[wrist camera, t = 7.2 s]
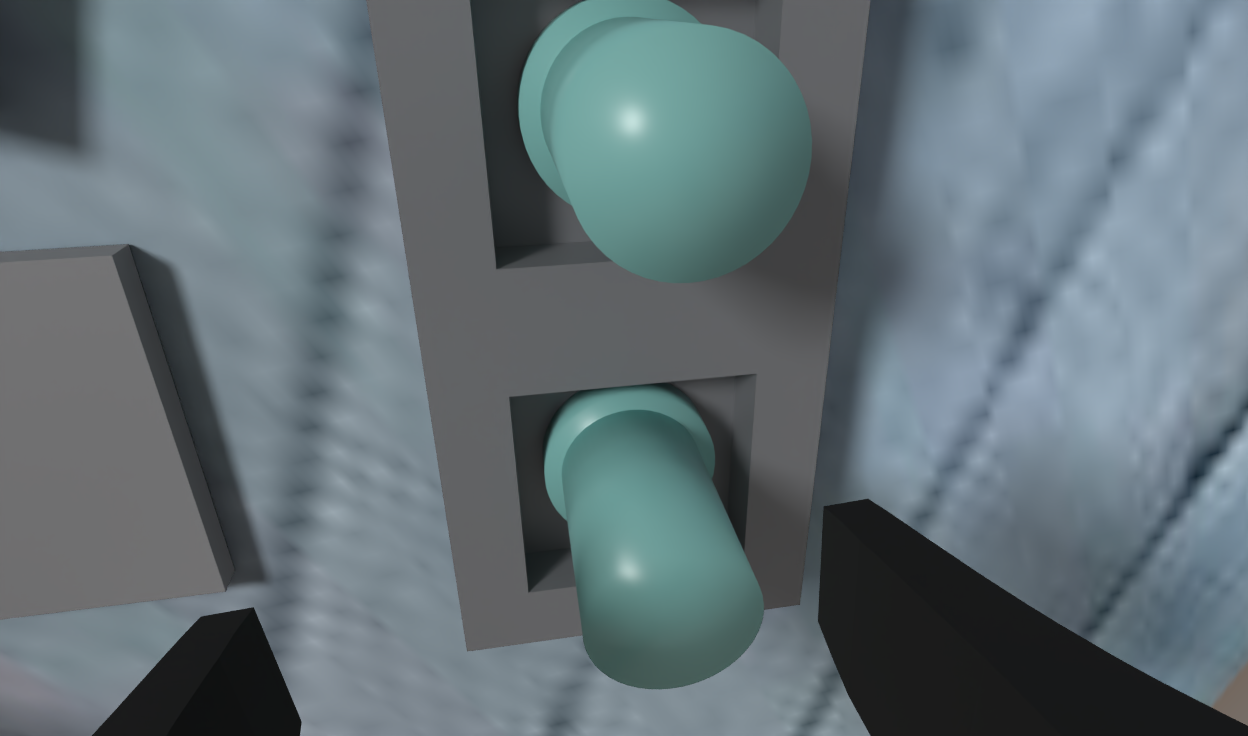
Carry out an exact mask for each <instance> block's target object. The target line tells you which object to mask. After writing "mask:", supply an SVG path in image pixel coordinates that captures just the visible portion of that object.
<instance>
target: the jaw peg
mask: <svg viewBox="0 0 1248 736" xmlns="http://www.w3.org/2000/svg"><path fill="white" fill-rule="evenodd" d="M543 464H544V475H545V483H546V489H547V492H548V495H549V498H550V500H551V502H552V504H553V505H554V507H555V508H556V510H557V511H558V513H559V514H560V515H561V516H562V517H563V518H564V519H565V520H566V521H567V522H568V530H569V537H570V545H571V552H572V560H573V567H574V575H575V582H576V589H577V597H578V604H579V612H580V619H581V627H582V634H583V642H584V645H585V649H586V651H587V653H588V655H589V657H590V659H591V660H592V662H593V663H594V664H595V666H596V667H597V668H598V669H599V670H601V671H602V672H603V673H604V674H606V675H607V676H609V677H610V678H612V679H614V680H616V681H618V682H620V683H623V684H626V685H629V686H633V687H637V688H645V689H670V688H677V687H683V686H686V685H690V684H694V683H697V682H699V681H702V680H705V679H707V678H709V677H711V676H713V675H715V674H717V673H719V672H720V671H722V670H724V669H725V668H727V667H728V666H729V665H731V664H732V663H733V662H735V661H736V660H737V659H738V658H739V657H740V656H741V655H742V654H743V653H744V652H745V651H746V650H747V649H748V647H749V646H750V645H751V643H752V642H753V640H754V639H755V637H756V635H757V633H758V631H759V629H760V626H761V623H762V619H763V614H764V602H763V595H762V592H761V589H760V586H759V584H758V582H757V580H756V577H755V575H754V573H753V571H752V569H751V566H750V564H749V562H748V560H747V557H746V555H745V553H744V551H743V548H742V546H741V544H740V542H739V539H738V537H737V535H736V533H735V530H734V528H733V526H732V524H731V521H730V519H729V517H728V515H727V513H726V510H725V508H724V506H723V504H722V501H721V499H720V497H719V495H718V492H717V490H716V488H715V486H714V483H713V481H712V477H713V474H714V467H715V451H714V445H713V442H712V439H711V436H710V434H709V432H708V430H707V428H706V426H705V424H704V422H703V420H702V418H701V416H700V414H699V412H698V410H697V408H696V407H695V405H694V404H693V402H692V401H691V400H690V399H689V398H688V397H687V396H686V395H685V394H684V393H683V392H682V391H680V390H679V389H678V388H676V387H674V386H673V385H671V384H669V383H667V382H662V383H652V384H641V385H630V386H620V387H609V388H599V389H588V390H580V391H578V392H577V393H575V394H574V395H572V396H571V397H570V398H569V399H568V400H567V401H565V402H564V404H563V405H562V406H561V407H560V408H559V409H558V410H557V412H556V413H555V415H554V416H553V418H552V419H551V421H550V423H549V425H548V428H547V430H546V433H545V436H544V442H543Z"/></svg>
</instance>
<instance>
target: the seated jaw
mask: <svg viewBox="0 0 1248 736" xmlns="http://www.w3.org/2000/svg"><path fill="white" fill-rule="evenodd" d="M517 112H518V119H519V126H520V130H521V133H522V137H523V141H524V144H525V148H526V150H527V152H528V155H529V157H530V160H531V162H532V164H533V165H534V167H535V169H536V171H537V172H538V174H539V175H540V176H541V178H542V179H543V180H544V182H545V183H546V184H547V185H548V186H549V187H550V188H551V189H552V190H553V191H554V193H555V194H557V195H558V196H559V197H560V198H562V199H563V200H564V201H565V202H567V203H568V204H570V205H572V206H573V209H574V211H575V213H576V216H577V218H578V220H579V222H580V224H581V225H582V227H583V229H584V231H585V232H586V234H587V235H588V236H589V238H590V239H591V240H592V242H593V243H594V244H595V245H596V246H597V247H598V248H599V249H600V250H601V251H602V252H603V253H604V254H605V255H606V256H607V257H608V258H609V259H611V260H612V261H613V262H615V263H616V264H617V265H619V266H621V267H622V268H624V269H626V270H628V271H629V272H631V273H634V274H636V275H639V276H641V277H644V278H647V279H651V280H655V281H659V282H668V283H693V282H700V281H706V280H709V279H713V278H717V277H720V276H722V275H725V274H727V273H730V272H732V271H734V270H736V269H738V268H740V267H741V266H743V265H745V264H747V263H748V262H750V261H751V260H752V259H754V258H755V257H757V256H758V255H759V254H760V253H762V252H763V251H764V250H765V249H766V248H767V247H768V246H769V245H770V244H771V243H772V242H773V241H774V240H775V239H776V238H777V237H778V236H779V234H780V233H781V232H782V231H783V229H784V228H785V226H786V225H787V224H788V222H789V221H790V219H791V218H792V216H793V214H794V212H795V210H796V208H797V207H798V205H799V202H800V200H801V197H802V195H803V192H804V190H805V187H806V183H807V179H808V176H809V171H810V164H811V158H812V134H811V124H810V119H809V115H808V110H807V107H806V104H805V101H804V98H803V96H802V93H801V91H800V89H799V87H798V85H797V83H796V81H795V80H794V78H793V76H792V75H791V74H790V72H789V71H788V69H787V68H786V67H785V65H784V64H783V63H782V62H781V61H780V60H779V59H778V58H777V57H776V56H775V55H774V54H773V53H772V52H771V51H770V50H768V49H767V48H766V47H764V46H763V45H762V44H760V43H759V42H757V41H756V40H754V39H752V38H750V37H748V36H746V35H745V34H742V33H739V32H736V31H734V30H731V29H728V28H723V27H718V26H713V25H705V24H701V23H700V22H699V21H698V20H697V19H696V18H695V17H694V16H692V15H691V14H690V13H688V12H687V11H686V10H684V9H683V8H681V7H679V6H678V5H676V4H674V3H672V2H670V1H668V0H582V1H580V2H578V3H576V4H574V5H572V6H570V7H569V8H567V9H565V10H564V11H563V12H561V13H560V14H559V15H558V16H556V17H555V18H554V19H553V20H552V21H551V22H550V23H549V24H548V25H547V26H546V27H545V28H544V29H543V30H542V32H541V33H540V34H539V36H538V37H537V39H536V40H535V41H534V43H533V45H532V47H531V49H530V50H529V52H528V54H527V57H526V59H525V62H524V65H523V67H522V71H521V75H520V79H519V84H518V93H517Z"/></svg>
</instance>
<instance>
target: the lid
mask: <svg viewBox="0 0 1248 736" xmlns="http://www.w3.org/2000/svg"><path fill="white" fill-rule="evenodd" d="M234 571H235V569H234V566H233V563H232V560H231V557H230V554H229V551H228V548H227V545H226V542H225V538H224V535H223V532H222V529H221V526H220V523H219V520H218V517H217V514H216V511H215V508H214V505H213V502H212V499H211V496H210V492H209V489H208V486H207V483H206V480H205V477H204V474H203V471H202V468H201V465H200V462H199V459H198V456H197V453H196V450H195V446H194V443H193V440H192V437H191V434H190V431H189V428H188V425H187V422H186V419H185V416H184V413H183V410H182V407H181V404H180V400H179V397H178V394H177V391H176V388H175V385H174V382H173V379H172V376H171V373H170V370H169V367H168V364H167V361H166V357H165V354H164V351H163V348H162V345H161V342H160V339H159V336H158V333H157V330H156V327H155V324H154V321H153V318H152V315H151V311H150V308H149V305H148V302H147V299H146V296H145V293H144V290H143V287H142V284H141V281H140V278H139V275H138V272H137V269H136V265H135V262H134V259H133V256H132V253H131V250H130V247H129V244H123V245H106V246H90V247H74V248H57V249H41V250H25V251H8V252H0V619H8V618H16V617H24V616H32V615H40V614H49V613H57V612H65V611H73V610H81V609H89V608H97V607H105V606H113V605H121V604H129V603H137V602H145V601H153V600H161V599H169V598H177V597H186V596H194V595H202V594H210V593H218V592H226V590H227V587H228V585H229V583H230V581H231V578H232V576H233V574H234Z"/></svg>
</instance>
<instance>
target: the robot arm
mask: <svg viewBox="0 0 1248 736" xmlns="http://www.w3.org/2000/svg"><path fill="white" fill-rule="evenodd" d="M818 623H819V625H820V628H821V630H822V633H823V635H824V638H825V640H826V643H827V645H828V648H829V650H830V653H831V655H832V658H833V660H834V663H835V665H836V667H837V670H838V672H839V674H840V677H841V679H842V681H843V684H844V686H845V688H846V691H847V693H848V695H849V697H850V699H851V701H852V703H853V704H854V706H855V708H856V710H857V712H858V714H859V715H860V717H861V719H862V721H863V723H864V725H865V726H866V728H867V730H868V732H869V734H870V735H871V736H1248V726H1247V725H1245V724H1243V723H1241V722H1239V721H1237V720H1235V719H1233V718H1231V717H1229V716H1227V715H1225V714H1223V713H1221V712H1219V711H1217V710H1215V709H1213V708H1211V707H1209V706H1207V705H1205V704H1203V703H1201V702H1199V701H1198V700H1196V699H1194V698H1192V697H1190V696H1188V695H1186V694H1184V693H1182V692H1180V691H1178V690H1176V689H1174V688H1172V687H1170V686H1168V685H1166V684H1164V683H1162V682H1160V681H1158V680H1157V679H1155V678H1153V677H1151V676H1149V675H1147V674H1145V673H1144V672H1142V671H1140V670H1138V669H1136V668H1134V667H1133V666H1131V665H1129V664H1127V663H1125V662H1124V661H1122V660H1120V659H1118V658H1116V657H1115V656H1113V655H1111V654H1110V653H1108V652H1106V651H1104V650H1103V649H1101V648H1099V647H1098V646H1096V645H1094V644H1092V643H1091V642H1089V641H1087V640H1086V639H1084V638H1082V637H1080V636H1079V635H1077V634H1075V633H1074V632H1072V631H1070V630H1068V629H1067V628H1065V627H1063V626H1062V625H1060V624H1058V623H1057V622H1055V621H1053V620H1052V619H1050V618H1048V617H1047V616H1045V615H1044V614H1042V613H1040V612H1039V611H1037V610H1035V609H1034V608H1032V607H1031V606H1029V605H1027V604H1026V603H1024V602H1023V601H1021V600H1019V599H1018V598H1016V597H1015V596H1013V595H1012V594H1010V593H1008V592H1007V591H1005V590H1004V589H1002V588H1001V587H999V586H998V585H996V584H995V583H993V582H991V581H990V580H988V579H987V578H985V577H984V576H982V575H981V574H979V573H978V572H976V571H975V570H973V569H972V568H970V567H969V566H967V565H966V564H964V563H963V562H961V561H960V560H958V559H957V558H955V557H954V556H952V555H951V554H949V553H948V552H946V551H945V550H943V549H942V548H940V547H939V546H938V545H936V544H935V543H933V542H932V541H930V540H929V539H927V538H926V537H924V536H923V535H921V534H920V533H918V532H917V531H916V530H914V529H913V528H911V527H910V526H908V525H907V524H905V523H904V522H902V521H901V520H899V519H898V518H896V517H895V516H893V515H892V514H891V513H889V512H888V511H886V510H885V509H883V508H882V507H880V506H878V505H877V504H875V503H874V502H872V501H871V500H869V499H864V500H858V501H852V502H847V503H841V504H835V505H830V506H824V511H823V531H822V551H821V571H820V591H819V611H818ZM300 730H301V719H300V717H299V714H298V712H297V710H296V707H295V705H294V703H293V700H292V698H291V695H290V693H289V691H288V688H287V686H286V683H285V681H284V679H283V676H282V674H281V672H280V669H279V667H278V664H277V662H276V660H275V657H274V655H273V652H272V650H271V648H270V645H269V643H268V640H267V638H266V636H265V633H264V631H263V629H262V626H261V624H260V621H259V619H258V617H257V614H256V612H255V609H254V607H253V608H247V609H241V610H236V611H230V612H225V613H219V614H213V615H208V616H202V617H200V618H199V619H198V620H197V621H196V622H195V623H194V624H193V626H192V627H191V628H190V629H189V630H188V631H187V632H186V633H185V634H184V635H183V636H182V637H181V638H180V639H179V640H178V641H177V642H176V644H175V645H174V646H173V647H172V648H171V649H170V650H169V651H168V652H167V653H166V655H165V656H164V657H163V658H162V659H161V660H160V661H159V662H158V663H157V664H156V666H155V667H154V668H153V669H152V670H151V671H150V672H149V673H148V674H147V676H146V677H145V678H144V679H143V680H142V681H141V682H140V683H139V684H138V686H137V687H136V688H135V689H134V690H133V691H132V692H131V693H130V694H129V696H128V697H127V698H126V699H125V700H124V701H123V702H122V703H121V704H120V706H119V707H118V708H117V709H116V710H115V711H114V712H113V713H112V714H111V715H110V717H109V718H108V719H107V720H106V721H105V722H104V723H103V724H102V725H101V726H100V727H99V729H98V730H97V731H96V732H95V733H94V734H93V735H92V736H300Z"/></svg>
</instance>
